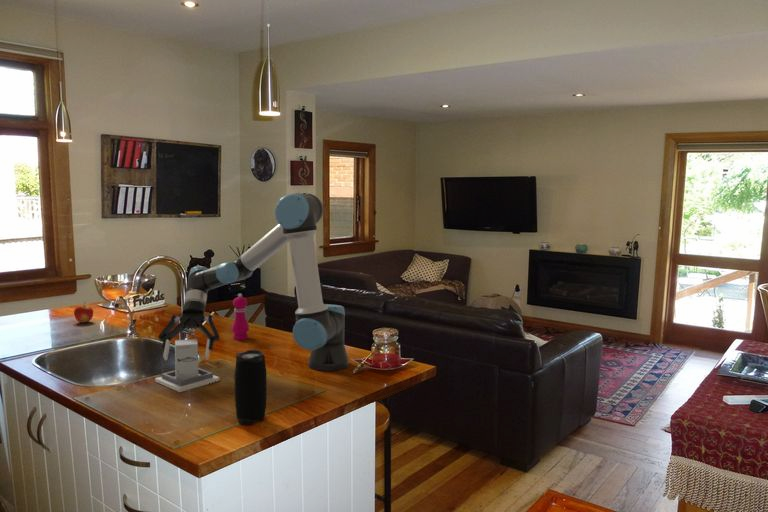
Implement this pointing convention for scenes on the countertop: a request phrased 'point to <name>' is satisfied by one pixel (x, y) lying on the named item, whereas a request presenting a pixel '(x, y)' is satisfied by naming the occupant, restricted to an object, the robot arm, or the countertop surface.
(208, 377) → the collar board
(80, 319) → the apple
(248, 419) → the portable speaker
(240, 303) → the pepper mill
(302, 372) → the countertop surface
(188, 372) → the supplement box
